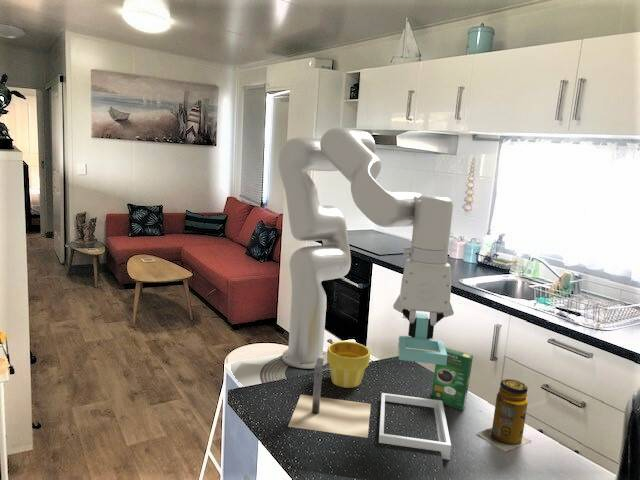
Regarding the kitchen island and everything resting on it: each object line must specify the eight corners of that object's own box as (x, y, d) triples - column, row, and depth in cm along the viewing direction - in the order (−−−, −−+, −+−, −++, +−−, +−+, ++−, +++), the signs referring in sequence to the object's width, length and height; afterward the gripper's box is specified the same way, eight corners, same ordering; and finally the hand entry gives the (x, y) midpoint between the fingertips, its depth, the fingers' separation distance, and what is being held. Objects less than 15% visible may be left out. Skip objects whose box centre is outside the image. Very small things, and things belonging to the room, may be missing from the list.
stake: (313, 406, 109) (317, 357, 107) (320, 407, 109) (324, 358, 107) (309, 417, 104) (313, 367, 103) (317, 418, 104) (321, 368, 102)
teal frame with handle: (398, 359, 97) (401, 329, 96) (398, 338, 110) (400, 311, 109) (446, 365, 96) (449, 335, 95) (439, 342, 109) (442, 316, 108)
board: (300, 400, 114) (300, 394, 114) (370, 410, 112) (370, 403, 112) (287, 433, 101) (288, 426, 100) (367, 444, 99) (367, 437, 98)
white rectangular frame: (380, 404, 115) (381, 392, 114) (440, 413, 113) (442, 400, 113) (378, 449, 97) (379, 435, 97) (449, 459, 95) (451, 445, 95)
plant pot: (368, 398, 118) (371, 359, 116) (324, 394, 118) (327, 355, 116) (365, 379, 128) (368, 342, 126) (325, 375, 128) (328, 339, 127)
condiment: (530, 441, 104) (539, 387, 102) (505, 452, 99) (513, 396, 97) (501, 424, 110) (508, 373, 108) (475, 434, 105) (482, 381, 103)
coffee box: (467, 406, 117) (474, 353, 115) (464, 411, 115) (470, 357, 112) (433, 396, 121) (439, 345, 119) (430, 401, 118) (436, 348, 116)
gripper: (389, 255, 101) (381, 342, 104) (471, 263, 99) (460, 351, 102) (389, 249, 108) (382, 330, 111) (465, 256, 106) (456, 338, 109)
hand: (420, 339), depth 106 cm, fingers closed on teal frame with handle
